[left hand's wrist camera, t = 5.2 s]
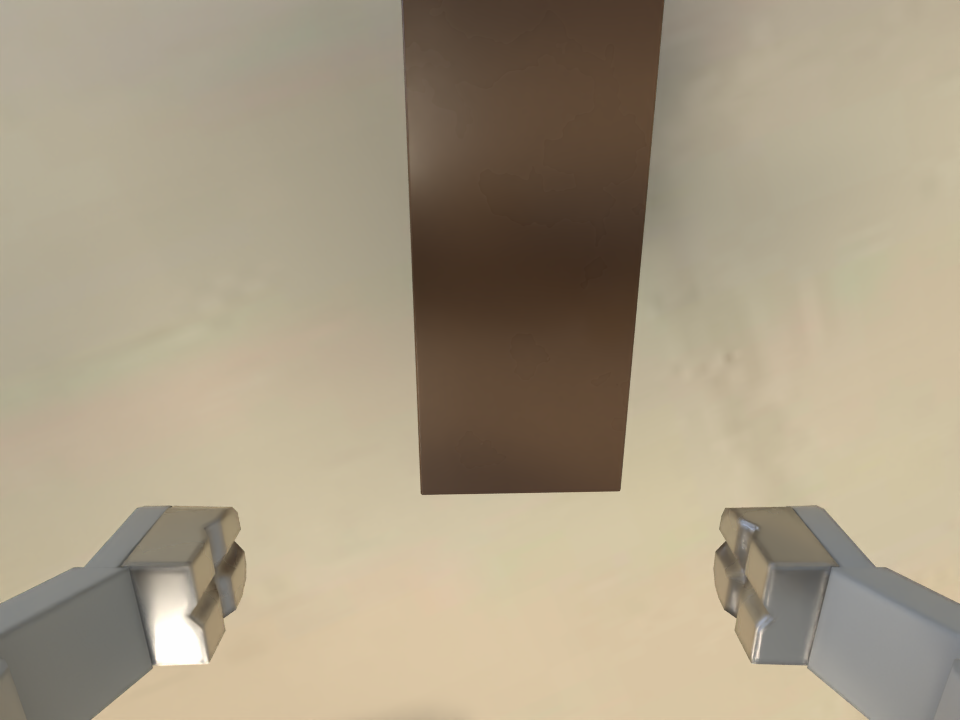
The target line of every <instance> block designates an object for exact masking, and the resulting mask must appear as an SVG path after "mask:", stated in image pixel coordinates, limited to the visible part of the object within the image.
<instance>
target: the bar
mask: <svg viewBox="0 0 960 720" xmlns="http://www.w3.org/2000/svg"><path fill="white" fill-rule="evenodd" d="M401 3H402V28H403V54H404V79H405V104H406V130H407V155H408V181H409V206H410V232H411V257H412V282H413V308H414V333H415V359H416V384H417V409H418V435H419V460H420V486H421V494H422V495H438V494H493V493H549V492H604V491H620V489H621V478H622V467H623V456H624V444H625V433H626V422H627V411H628V400H629V389H630V378H631V366H632V355H633V344H634V333H635V322H636V311H637V299H638V288H639V277H640V266H641V255H642V244H643V233H644V221H645V210H646V199H647V188H648V177H649V166H650V155H651V143H652V132H653V121H654V110H655V99H656V88H657V76H658V65H659V54H660V43H661V32H662V21H663V10H664V0H401Z"/></svg>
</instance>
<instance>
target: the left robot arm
mask: <svg viewBox="0 0 960 720" xmlns="http://www.w3.org/2000/svg"><path fill="white" fill-rule="evenodd" d="M240 530H241V527H240V522H239V517H238V513H237V511H236V510H235V509H234V508H233V507H204V506H173V507H172V506H143V507H139V508H137V509H136V510H135V511H134V512H133V513H132V514H131V515H130V516H129V517H128V518H127V520H126V521H125V522H124V523H123V524H122V525H121V526H120V527H119V529H118V530H117V531H116V532H115V533H114V534H113V535H112V536H111V538H110V539H109V540H108V541H107V542H106V543H105V544H104V545H103V547H102V548H101V549H100V550H99V551H98V552H97V553H96V554H95V555H94V557H93V558H92V559H91V560H90V561H89V562H88V563H87V564H86V566H85V567H74V568H72V569H70V570H68V571H66V572H64V573H62V574H60V575H58V576H56V577H54V578H52V579H50V580H47V581H45V582H43V583H41V584H39V585H37V586H35V587H33V588H31V589H29V590H27V591H25V592H23V593H21V594H19V595H17V596H15V597H13V598H11V599H9V600H7V601H5V602H3V603H1V604H0V720H91V719H92V718H94V717H95V716H96V715H97V714H98V713H100V712H101V711H102V710H103V709H104V708H106V707H107V706H108V705H109V704H110V703H112V702H113V701H114V700H115V699H116V698H118V697H119V696H120V695H121V694H122V693H124V692H125V691H126V690H127V689H128V688H130V687H131V686H132V685H133V684H134V683H136V682H137V681H138V680H139V679H140V678H142V677H143V676H144V675H145V674H146V673H148V672H149V671H150V670H151V669H152V668H153V667H152V665H181V664H209V662H210V660H211V658H212V656H213V654H214V652H215V650H216V648H217V646H218V644H219V642H220V640H221V638H222V636H223V634H224V632H225V625H224V619H223V618H225V617H226V616H227V615H229V614H230V613H232V612H233V611H235V610H236V608H237V606H238V604H239V602H240V600H241V598H242V595H243V590H244V586H245V581H246V559H245V552H244V551H243V550H242V549H241V548H240V547H239V545H238V544H237V543H236V542H235V541H234V540H235V538H236V537H237V535H238V533H239V531H240ZM719 530H720V531H721V533H722V535H723V537H724V538H725V540H726V541H725V542H724V543H723V544H722V546H721V547H720V548H719V549H718V550H717V551H716V552H715V560H714V580H715V587H716V591H717V594H718V598H719V600H720V602H721V604H722V606H723V608H724V610H725V611H727V612H728V613H730V614H731V615H733V616H734V617H735V618H737V619H736V625H735V632H736V634H737V636H738V638H739V640H740V642H741V644H742V646H743V648H744V650H745V652H746V654H747V656H748V658H749V660H750V662H751V664H778V665H808V667H807V668H808V669H809V670H810V671H812V672H813V673H814V674H815V675H816V676H818V677H819V678H820V679H821V680H822V681H824V682H825V683H826V684H827V685H828V686H830V687H831V688H832V689H833V690H834V691H836V692H837V693H838V694H839V695H840V696H842V697H843V698H844V699H845V700H846V701H848V702H849V703H850V704H851V705H852V706H854V707H855V708H856V709H857V710H858V711H859V712H861V713H862V714H863V715H864V716H865V717H867V718H868V719H869V720H960V604H959V603H957V602H955V601H953V600H951V599H949V598H947V597H945V596H943V595H941V594H939V593H937V592H935V591H933V590H931V589H929V588H927V587H925V586H923V585H921V584H919V583H917V582H914V581H912V580H910V579H908V578H906V577H904V576H902V575H900V574H898V573H896V572H894V571H892V570H890V569H888V568H886V567H875V566H874V564H873V563H872V562H871V561H870V560H869V559H868V558H867V557H866V555H865V554H864V553H863V552H862V551H861V550H860V549H859V548H858V546H857V545H856V544H855V543H854V542H853V541H852V540H851V539H850V538H849V536H848V535H847V534H846V533H845V532H844V531H843V530H842V529H841V527H840V526H839V525H838V524H837V523H836V522H835V521H834V520H833V518H832V517H831V516H830V515H829V514H828V513H827V512H826V511H825V510H824V509H823V508H821V507H819V506H817V505H811V506H786V507H750V508H725V510H724V512H723V514H722V516H721V522H720V527H719Z"/></svg>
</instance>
